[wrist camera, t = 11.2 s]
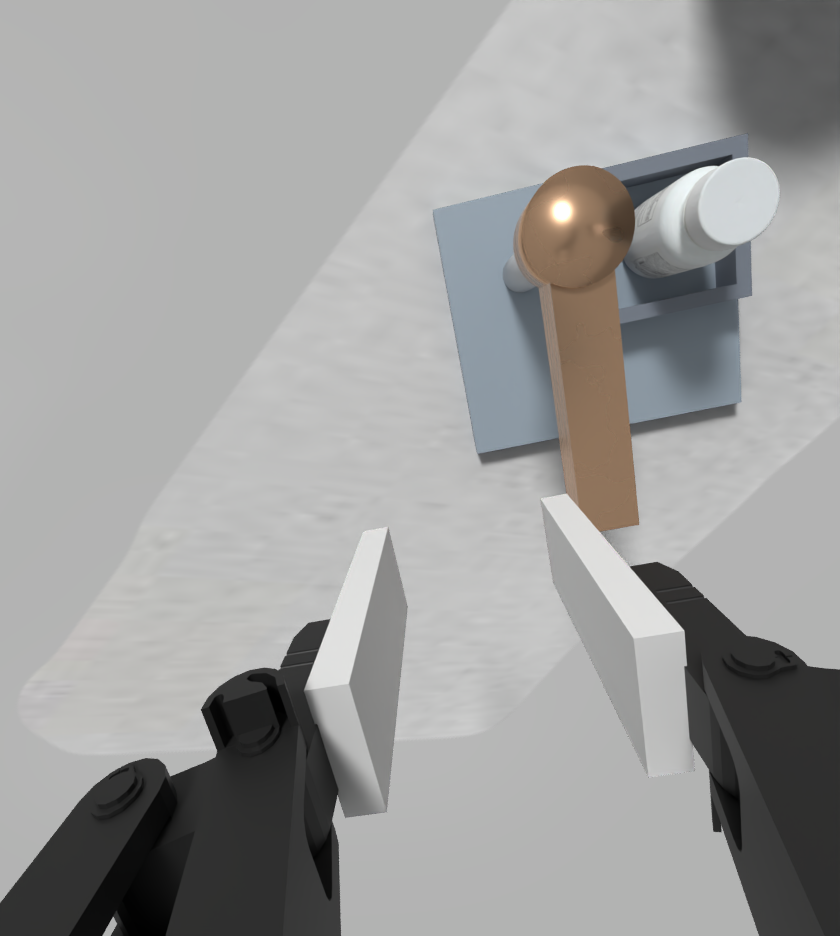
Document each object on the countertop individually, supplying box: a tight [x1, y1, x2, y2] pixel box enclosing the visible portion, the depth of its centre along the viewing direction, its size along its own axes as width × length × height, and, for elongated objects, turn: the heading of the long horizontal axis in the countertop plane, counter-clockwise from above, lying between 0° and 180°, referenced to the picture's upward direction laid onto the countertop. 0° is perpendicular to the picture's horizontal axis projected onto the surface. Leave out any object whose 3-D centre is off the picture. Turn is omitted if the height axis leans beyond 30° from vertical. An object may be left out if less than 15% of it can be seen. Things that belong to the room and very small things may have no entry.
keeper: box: [513, 165, 639, 532], centre depth 19 cm, size 14×4×2 cm, turn 12°
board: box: [433, 133, 752, 454], centre depth 25 cm, size 17×15×10 cm
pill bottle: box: [624, 157, 780, 279], centre depth 24 cm, size 4×4×8 cm
